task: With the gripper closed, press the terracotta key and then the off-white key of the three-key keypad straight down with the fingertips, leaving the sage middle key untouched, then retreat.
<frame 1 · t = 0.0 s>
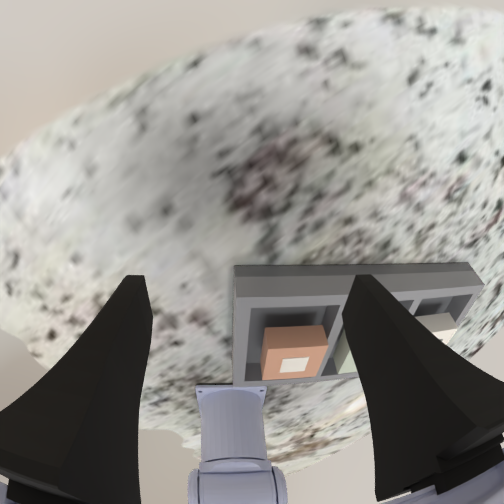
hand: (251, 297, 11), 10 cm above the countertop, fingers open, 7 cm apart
key offwhite: (426, 339, 25), point 4 cm above the countertop, slide at 0.0 cm
key sage: (366, 347, 25), point 4 cm above the countertop, slide at 0.0 cm
key terracotta: (292, 354, 24), point 4 cm above the countertop, slide at 0.0 cm
keypad board: (354, 315, 28), on the countertop
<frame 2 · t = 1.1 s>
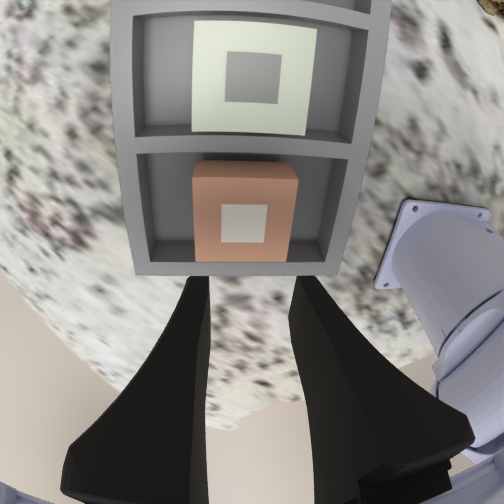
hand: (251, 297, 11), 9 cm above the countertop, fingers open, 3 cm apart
key sage: (250, 75, 11), point 4 cm above the countertop, slide at 0.0 cm
key terracotta: (242, 212, 15), point 4 cm above the countertop, slide at 0.0 cm
keypad board: (245, 68, 14), on the countertop
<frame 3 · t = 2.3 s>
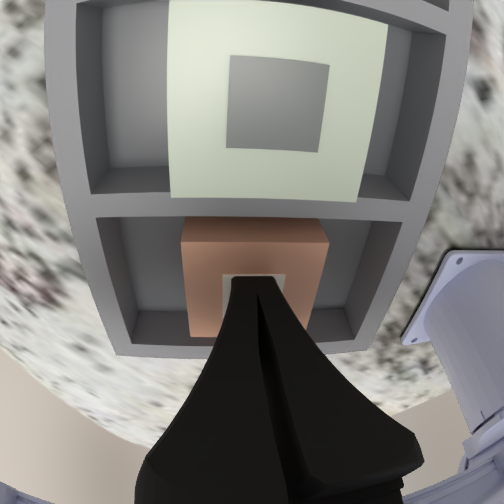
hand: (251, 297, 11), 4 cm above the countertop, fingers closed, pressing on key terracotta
key sage: (270, 97, 7), point 4 cm above the countertop, slide at 0.0 cm
key terracotta: (250, 277, 12), point 3 cm above the countertop, slide at 1.0 cm, touching gripper
keypad board: (256, 80, 10), on the countertop
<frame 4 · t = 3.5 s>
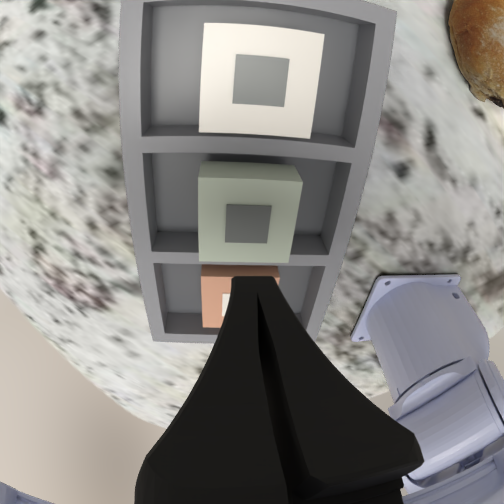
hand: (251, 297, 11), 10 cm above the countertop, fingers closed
key offwhite: (258, 78, 11), point 4 cm above the countertop, slide at 0.0 cm
bread roll: (491, 36, 12), on the countertop
key sage: (246, 213, 15), point 4 cm above the countertop, slide at 0.0 cm
key terracotta: (237, 293, 20), point 3 cm above the countertop, slide at 1.1 cm
keypad board: (242, 181, 18), on the countertop
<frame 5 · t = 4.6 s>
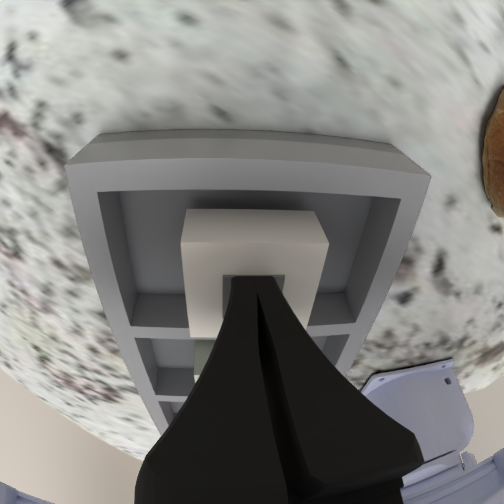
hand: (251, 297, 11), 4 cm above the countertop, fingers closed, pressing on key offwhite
key offwhite: (249, 278, 12), point 3 cm above the countertop, slide at 0.5 cm, touching gripper
key sage: (242, 381, 15), point 4 cm above the countertop, slide at 0.0 cm
keypad board: (239, 325, 18), on the countertop
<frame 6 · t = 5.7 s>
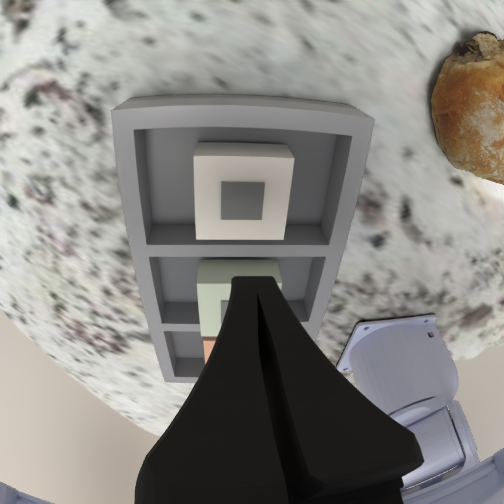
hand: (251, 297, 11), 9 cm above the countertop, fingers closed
key offwhite: (241, 191, 16), point 3 cm above the countertop, slide at 1.1 cm
bread roll: (476, 100, 16), on the countertop
key sage: (237, 300, 19), point 4 cm above the countertop, slide at 0.0 cm
key terracotta: (234, 348, 24), point 3 cm above the countertop, slide at 1.1 cm
keypad board: (235, 260, 22), on the countertop
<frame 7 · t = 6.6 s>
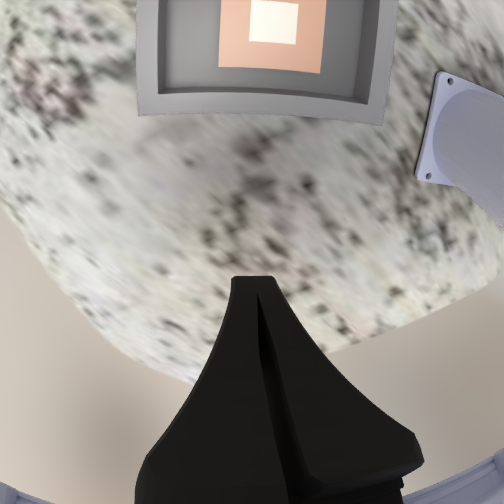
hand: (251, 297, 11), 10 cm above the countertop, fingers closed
key terracotta: (270, 23, 12), point 3 cm above the countertop, slide at 1.1 cm
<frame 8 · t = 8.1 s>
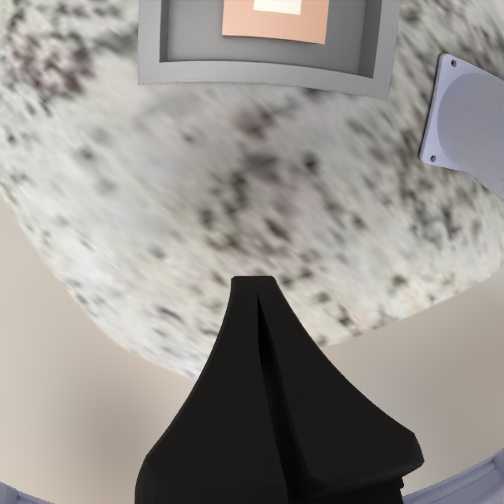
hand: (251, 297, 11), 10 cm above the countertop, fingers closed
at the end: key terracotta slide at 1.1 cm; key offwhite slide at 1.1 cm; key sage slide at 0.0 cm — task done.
